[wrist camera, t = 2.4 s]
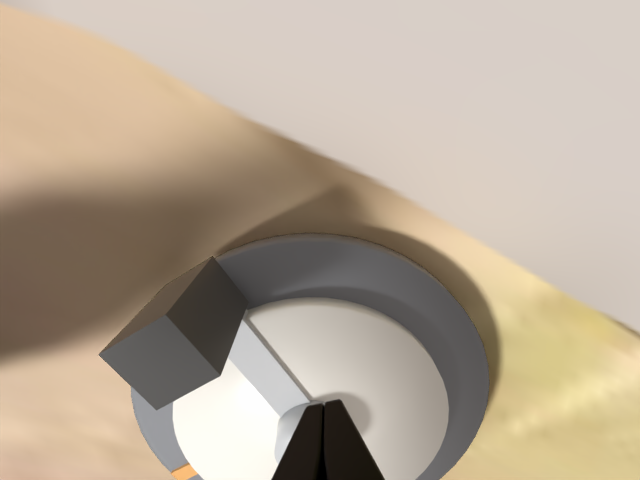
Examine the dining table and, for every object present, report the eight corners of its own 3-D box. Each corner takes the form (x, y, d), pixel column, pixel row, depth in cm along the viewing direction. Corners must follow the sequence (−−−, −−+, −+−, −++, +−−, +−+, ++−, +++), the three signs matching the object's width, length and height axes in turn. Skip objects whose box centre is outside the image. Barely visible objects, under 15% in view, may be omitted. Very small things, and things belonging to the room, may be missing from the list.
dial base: (68, 347, 20) (46, 366, 18) (379, 156, 16) (386, 158, 15) (269, 535, 26) (267, 562, 24) (524, 426, 23) (540, 449, 21)
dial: (482, 440, 20) (542, 551, 15) (277, 529, 23) (266, 651, 18) (326, 184, 15) (332, 214, 9) (77, 337, 17) (-29, 430, 12)
